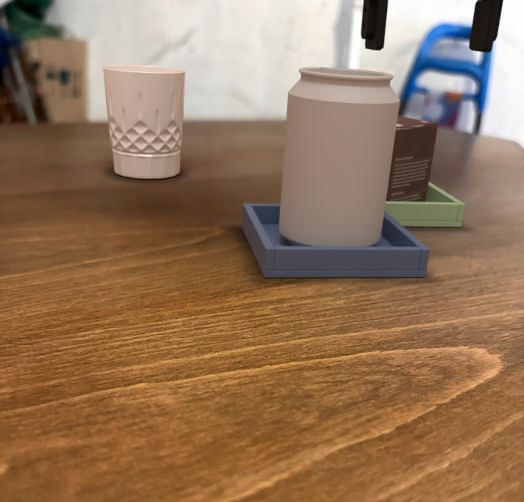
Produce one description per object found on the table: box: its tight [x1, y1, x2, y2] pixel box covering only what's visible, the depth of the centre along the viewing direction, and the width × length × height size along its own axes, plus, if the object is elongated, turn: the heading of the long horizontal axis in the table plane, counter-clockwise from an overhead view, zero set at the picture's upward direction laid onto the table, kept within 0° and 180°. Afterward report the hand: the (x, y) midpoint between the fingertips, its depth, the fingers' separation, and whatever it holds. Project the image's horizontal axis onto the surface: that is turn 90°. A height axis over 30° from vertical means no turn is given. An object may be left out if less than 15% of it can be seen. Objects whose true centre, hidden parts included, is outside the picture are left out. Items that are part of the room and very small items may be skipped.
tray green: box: [384, 181, 466, 228], centre depth 61 cm, size 11×11×2 cm
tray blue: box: [241, 202, 431, 279], centre depth 49 cm, size 11×11×2 cm
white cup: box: [102, 64, 186, 180], centre depth 67 cm, size 8×8×10 cm
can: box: [279, 66, 401, 247], centre depth 47 cm, size 8×8×12 cm
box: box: [386, 115, 439, 202], centre depth 60 cm, size 6×6×7 cm
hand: (427, 50), depth 58 cm, fingers open, 9 cm apart
